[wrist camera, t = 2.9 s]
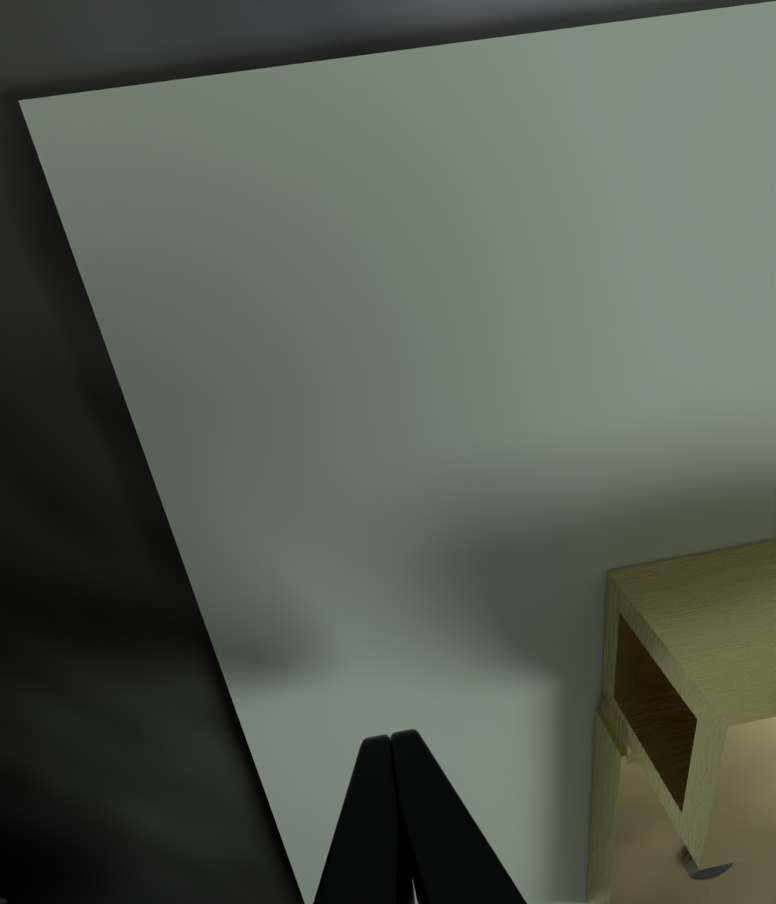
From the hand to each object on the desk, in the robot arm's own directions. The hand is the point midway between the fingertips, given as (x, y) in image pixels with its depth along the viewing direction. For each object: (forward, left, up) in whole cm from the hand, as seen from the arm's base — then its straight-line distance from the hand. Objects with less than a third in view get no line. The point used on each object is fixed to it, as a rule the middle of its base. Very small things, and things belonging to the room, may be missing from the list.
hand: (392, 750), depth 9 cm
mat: (-10, 0, -2) cm, 11 cm away
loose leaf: (-8, +4, -1) cm, 9 cm away
